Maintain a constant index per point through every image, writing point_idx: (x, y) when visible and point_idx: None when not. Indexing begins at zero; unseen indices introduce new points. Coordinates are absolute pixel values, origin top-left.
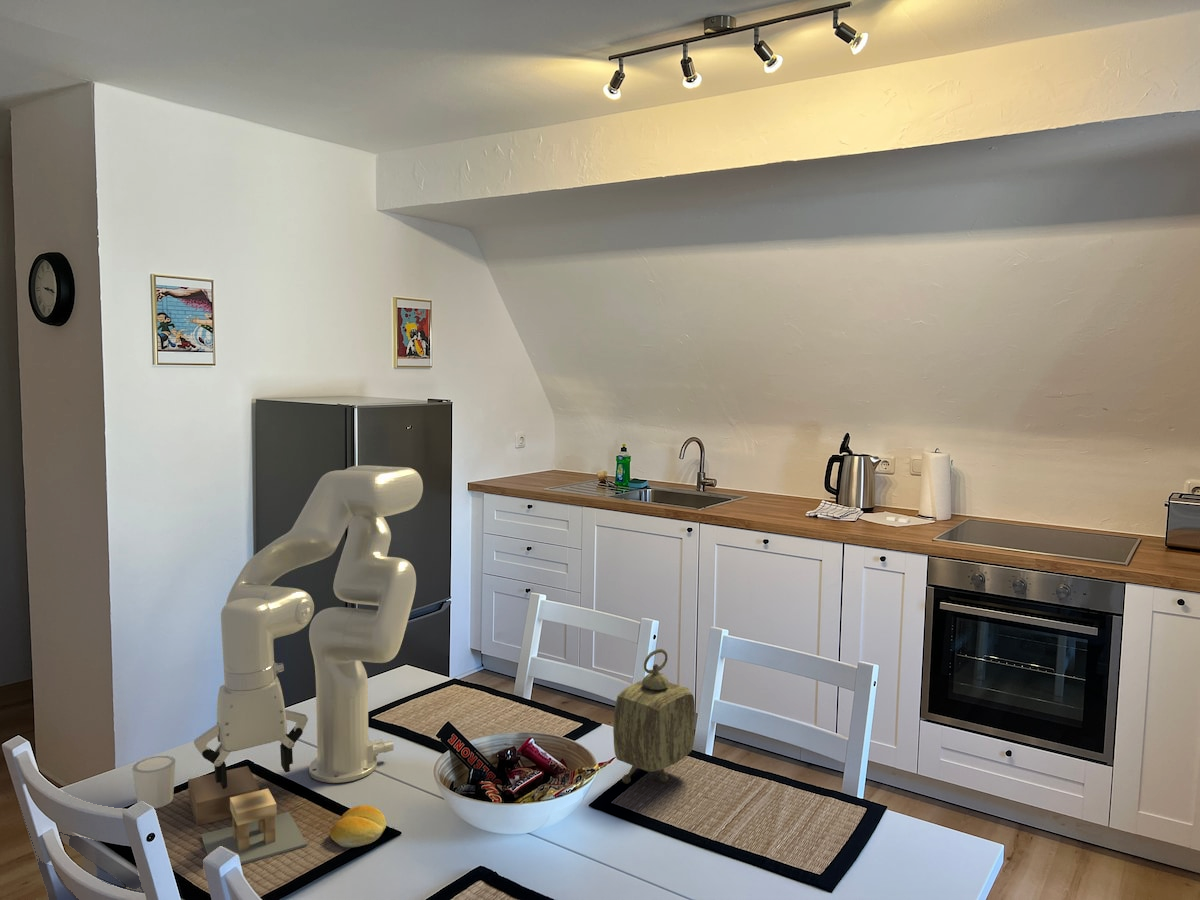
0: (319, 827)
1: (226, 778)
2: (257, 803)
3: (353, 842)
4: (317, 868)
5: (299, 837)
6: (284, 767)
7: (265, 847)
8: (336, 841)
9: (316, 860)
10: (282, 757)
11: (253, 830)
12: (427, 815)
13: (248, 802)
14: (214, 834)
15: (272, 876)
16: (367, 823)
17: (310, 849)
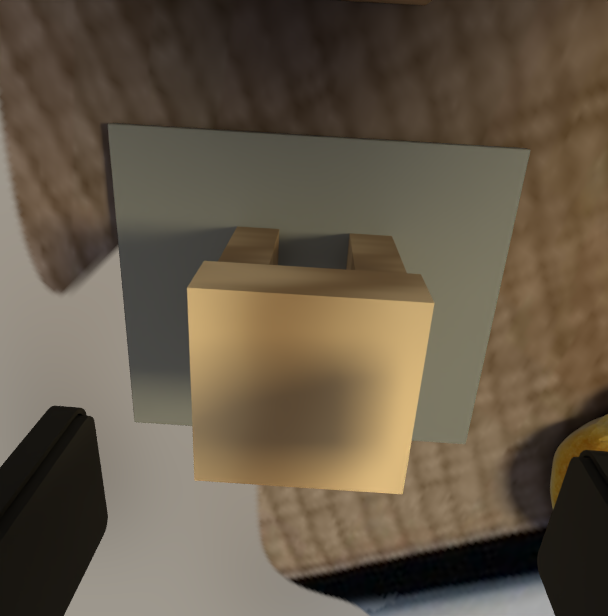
0: (568, 343)
1: (72, 590)
2: (316, 442)
3: None
4: (431, 558)
5: (462, 392)
6: (553, 577)
7: None
8: (551, 499)
9: (448, 523)
10: (599, 596)
11: (327, 233)
12: None
13: (275, 405)
14: (165, 162)
15: (302, 526)
16: None
17: (463, 460)
